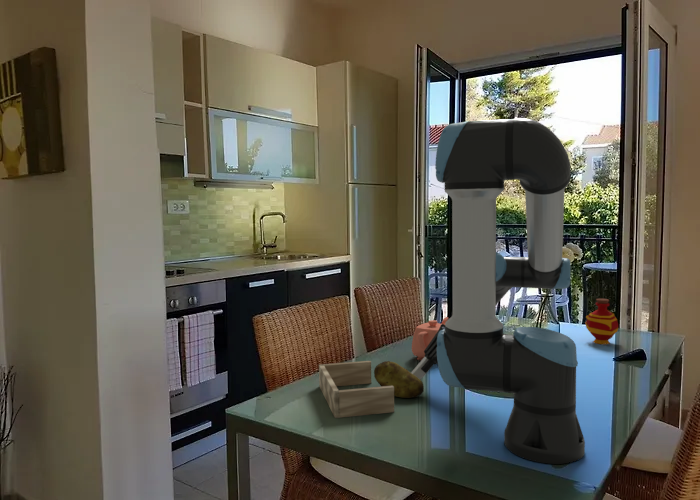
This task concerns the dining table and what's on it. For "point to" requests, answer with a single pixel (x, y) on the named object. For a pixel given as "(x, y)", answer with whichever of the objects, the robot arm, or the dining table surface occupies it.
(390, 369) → the potato
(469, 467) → the dining table surface
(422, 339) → the teapot
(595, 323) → the red yellow vase
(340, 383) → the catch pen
